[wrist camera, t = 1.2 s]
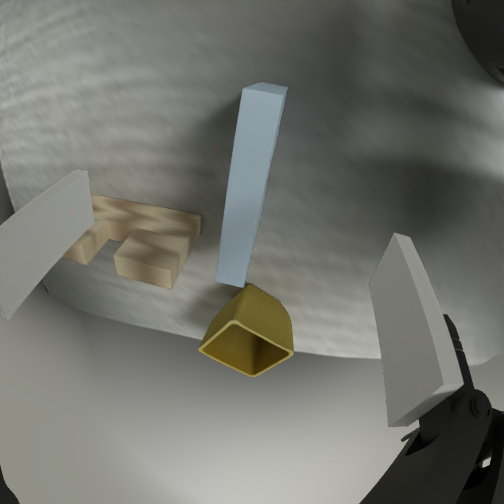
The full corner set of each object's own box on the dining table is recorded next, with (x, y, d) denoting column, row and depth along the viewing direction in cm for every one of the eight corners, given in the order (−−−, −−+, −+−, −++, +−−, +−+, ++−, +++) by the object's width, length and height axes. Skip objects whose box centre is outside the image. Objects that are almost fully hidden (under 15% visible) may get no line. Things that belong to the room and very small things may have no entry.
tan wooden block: (92, 209, 35) (48, 252, 27) (90, 193, 34) (43, 235, 26) (200, 233, 35) (171, 289, 27) (201, 215, 33) (170, 270, 25)
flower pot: (212, 301, 42) (195, 351, 34) (245, 266, 37) (231, 320, 30) (261, 328, 44) (252, 378, 37) (298, 299, 39) (296, 354, 32)
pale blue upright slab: (261, 82, 24) (242, 88, 16) (287, 87, 24) (283, 95, 16) (236, 223, 33) (215, 281, 25) (258, 227, 33) (243, 287, 25)
